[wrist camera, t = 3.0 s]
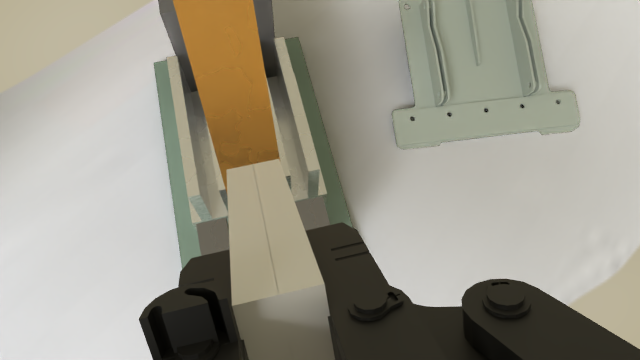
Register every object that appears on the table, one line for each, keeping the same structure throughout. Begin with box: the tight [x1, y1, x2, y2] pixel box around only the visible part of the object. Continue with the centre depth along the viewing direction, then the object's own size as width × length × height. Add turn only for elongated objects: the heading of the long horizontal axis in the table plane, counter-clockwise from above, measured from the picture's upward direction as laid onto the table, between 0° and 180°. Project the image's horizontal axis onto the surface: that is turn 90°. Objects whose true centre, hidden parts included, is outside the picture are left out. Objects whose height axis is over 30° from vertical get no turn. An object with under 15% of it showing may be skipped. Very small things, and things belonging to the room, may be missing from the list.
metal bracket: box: [392, 0, 580, 150], centre depth 41 cm, size 14×6×15 cm
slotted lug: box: [158, 0, 277, 92], centre depth 35 cm, size 4×7×10 cm, turn 104°
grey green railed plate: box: [154, 37, 353, 269], centre depth 37 cm, size 19×12×1 cm, turn 14°
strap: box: [173, 0, 280, 193], centre depth 23 cm, size 16×3×1 cm
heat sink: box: [167, 37, 330, 256], centre depth 32 cm, size 14×9×8 cm, turn 14°
